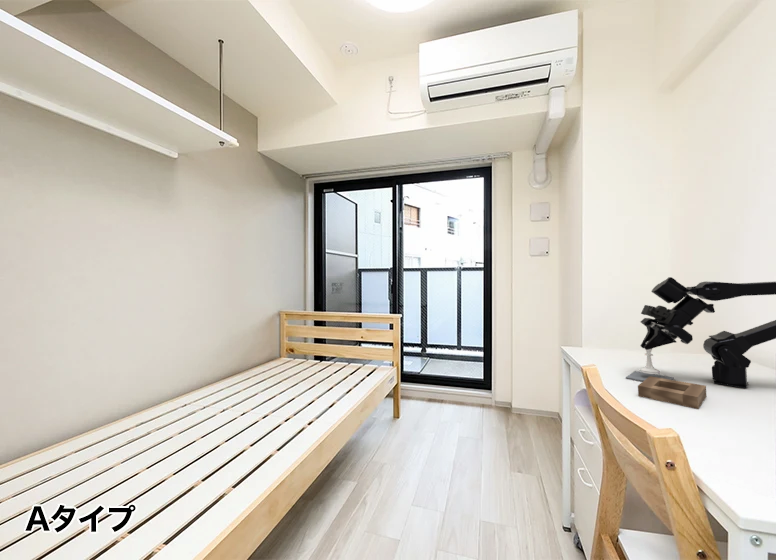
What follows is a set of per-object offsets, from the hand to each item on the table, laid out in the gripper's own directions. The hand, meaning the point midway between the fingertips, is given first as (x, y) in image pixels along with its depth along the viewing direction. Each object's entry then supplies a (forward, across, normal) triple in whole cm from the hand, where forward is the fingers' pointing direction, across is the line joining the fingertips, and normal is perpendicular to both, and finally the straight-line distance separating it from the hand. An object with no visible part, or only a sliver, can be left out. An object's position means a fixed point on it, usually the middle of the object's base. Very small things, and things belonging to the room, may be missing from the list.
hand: (643, 348), depth 101 cm
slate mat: (+6, 0, +8) cm, 10 cm away
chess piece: (+5, 0, +7) cm, 8 cm away
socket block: (+7, +16, +7) cm, 19 cm away
